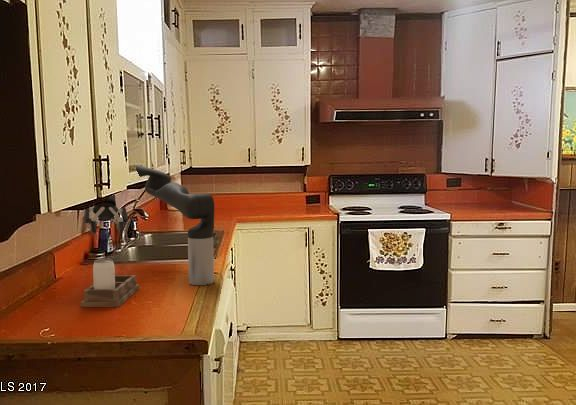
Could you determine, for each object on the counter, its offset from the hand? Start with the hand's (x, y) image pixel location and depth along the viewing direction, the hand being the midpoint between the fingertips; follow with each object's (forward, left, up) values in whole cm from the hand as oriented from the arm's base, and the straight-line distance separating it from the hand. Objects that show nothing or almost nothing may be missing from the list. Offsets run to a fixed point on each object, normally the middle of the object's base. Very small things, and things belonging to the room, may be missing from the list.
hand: (107, 232), depth 167 cm
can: (+12, +3, -19) cm, 23 cm away
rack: (+7, +3, -21) cm, 22 cm away
